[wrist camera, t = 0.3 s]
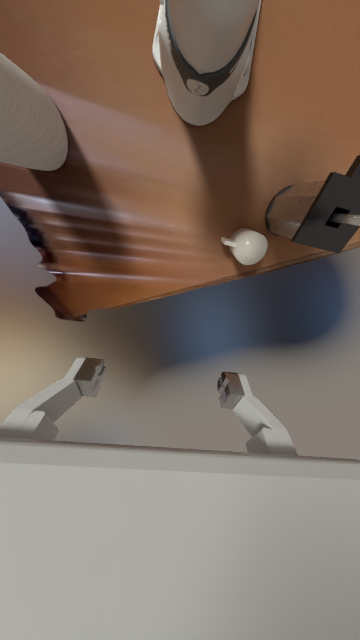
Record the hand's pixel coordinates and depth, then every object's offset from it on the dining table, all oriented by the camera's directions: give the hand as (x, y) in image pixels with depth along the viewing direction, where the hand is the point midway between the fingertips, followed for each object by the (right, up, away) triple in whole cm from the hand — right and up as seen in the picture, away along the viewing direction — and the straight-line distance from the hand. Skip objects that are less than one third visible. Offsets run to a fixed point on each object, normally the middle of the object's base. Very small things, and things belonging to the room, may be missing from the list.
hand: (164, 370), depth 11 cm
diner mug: (+19, +28, +38) cm, 51 cm away
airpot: (+31, +35, +33) cm, 57 cm away
